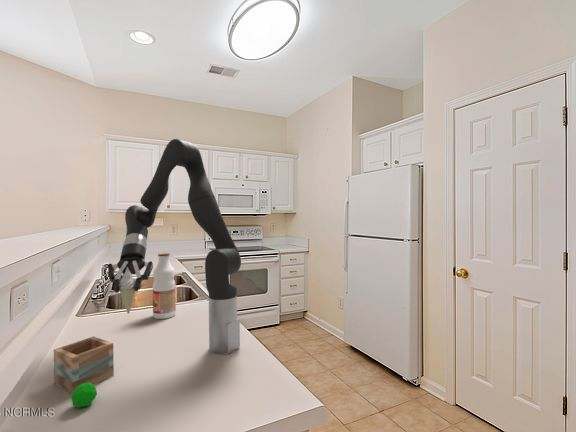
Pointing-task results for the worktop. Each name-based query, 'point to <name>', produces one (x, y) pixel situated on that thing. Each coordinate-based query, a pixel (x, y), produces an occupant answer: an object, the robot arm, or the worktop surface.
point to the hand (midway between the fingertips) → (126, 290)
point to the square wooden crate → (83, 363)
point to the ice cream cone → (127, 289)
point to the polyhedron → (83, 395)
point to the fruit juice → (164, 288)
